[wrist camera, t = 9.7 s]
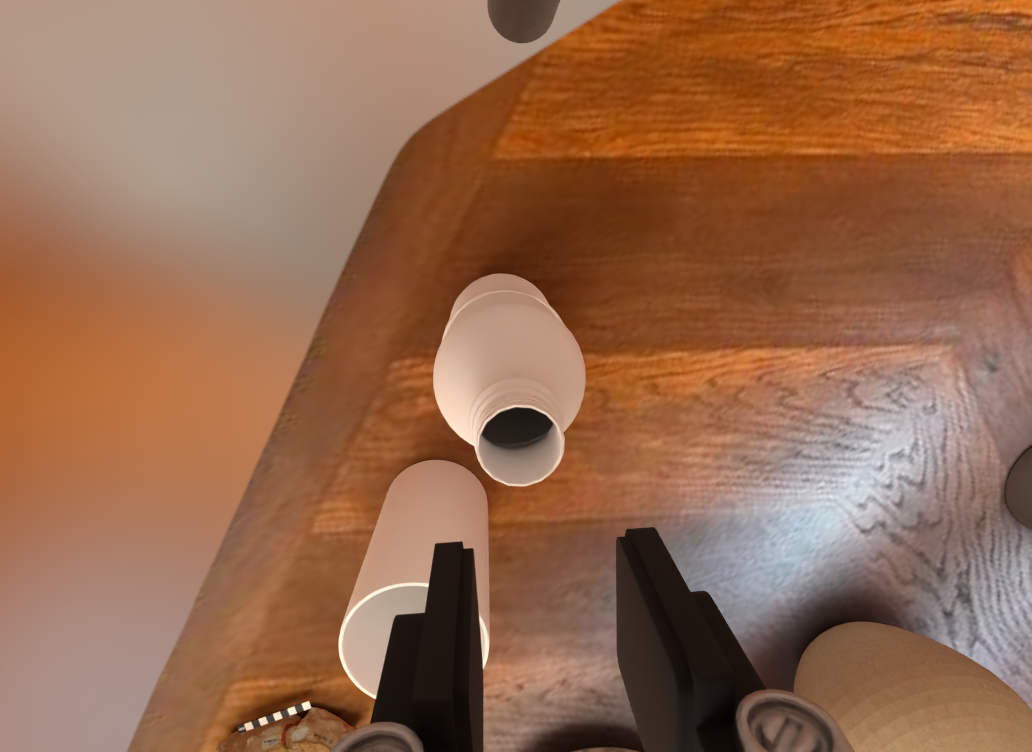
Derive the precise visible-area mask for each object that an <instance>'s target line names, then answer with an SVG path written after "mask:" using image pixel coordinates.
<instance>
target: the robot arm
mask: <svg viewBox="0 0 1032 752" xmlns="http://www.w3.org/2000/svg"><path fill="white" fill-rule="evenodd" d="M616 592H617V657H618V663H619V668H620V671H621V675H622V678H623V681H624V685H625V688H626V691H627V695H628V698H629V701H630V705H631V708H632V711H633V715H634V718H635V721H636V725H637V728H638V731H639V735H640V738H641V741H642V745H643V748H644V751H645V752H855V751H854V749H853V748H852V746H851V744H850V743H849V741H848V739H847V737H846V736H845V734H844V732H843V731H842V729H841V727H840V726H839V725H838V724H837V722H836V721H835V720H834V719H833V717H832V716H831V715H830V714H829V713H828V712H826V711H825V710H824V709H823V708H822V707H820V706H819V705H818V704H816V703H814V702H813V701H811V700H809V699H807V698H805V697H803V696H801V695H798V694H795V693H792V692H788V691H785V690H775V689H767V690H766V688H765V686H764V685H763V683H762V681H761V679H760V678H759V676H758V674H757V673H756V671H755V669H754V668H753V666H752V664H751V663H750V661H749V659H748V658H747V656H746V654H745V653H744V651H743V649H742V648H741V646H740V644H739V643H738V641H737V639H736V638H735V636H734V634H733V633H732V631H731V629H730V628H729V626H728V624H727V623H726V621H725V619H724V618H723V616H722V614H721V612H720V611H719V609H718V607H717V606H716V604H715V602H714V601H713V599H712V597H711V596H710V595H709V594H708V592H705V591H696V592H690V590H689V589H688V587H687V585H686V583H685V581H684V579H683V578H682V576H681V574H680V572H679V570H678V569H677V567H676V565H675V563H674V561H673V559H672V558H671V556H670V554H669V552H668V550H667V548H666V547H665V545H664V543H663V541H662V539H661V538H660V536H659V534H658V532H657V530H656V529H655V528H654V527H650V528H636V529H627V530H626V533H625V537H617V540H616ZM330 752H483V660H482V647H481V634H480V622H479V609H478V596H477V584H476V571H475V558H474V549H473V548H465V549H464V547H463V542H462V541H459V542H446V543H435V546H434V553H433V560H432V566H431V573H430V580H429V587H428V593H427V600H426V607H425V613H413V614H400V615H396V616H395V617H394V620H393V624H392V629H391V633H390V638H389V642H388V646H387V651H386V655H385V660H384V664H383V669H382V673H381V678H380V682H379V687H378V691H377V696H376V700H375V705H374V709H373V713H372V718H371V722H370V724H369V725H365V726H362V727H360V728H358V729H356V730H354V731H353V732H351V733H349V734H347V735H346V736H345V737H344V738H342V739H341V740H340V741H339V742H338V743H337V744H335V745H334V747H333V748H332V749H331V751H330Z"/></svg>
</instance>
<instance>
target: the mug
mask: <svg viewBox="0 0 1032 752" xmlns="http://www.w3.org/2000/svg"><path fill="white" fill-rule="evenodd" d="M1005 494H1006V502H1007V505H1008V508H1009V510H1010V512H1011V513H1012V514H1013V516H1014V517H1015V518H1016V519H1017V520H1018V521H1019V522H1020V523H1022V524H1023V525H1024V526H1026V527H1027V528H1029V529H1030V530H1032V447H1031V448H1030V449H1028V450H1027V451H1026V452H1025V453H1024V454H1023V455H1022V456H1021V457H1020V458H1019V460H1018V461H1017V462H1016V464H1015V465H1014V467H1013V468H1012V470H1011V472H1010V474H1009V477H1008V480H1007V484H1006V492H1005Z"/></svg>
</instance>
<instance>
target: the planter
mask: <svg viewBox="0 0 1032 752" xmlns="http://www.w3.org/2000/svg"><path fill="white" fill-rule="evenodd" d="M572 752H639V751H636V750H631V749H625V748H616V747H597V748H587V749H581V750H576V751H572Z"/></svg>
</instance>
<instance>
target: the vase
mask: <svg viewBox="0 0 1032 752" xmlns="http://www.w3.org/2000/svg"><path fill="white" fill-rule="evenodd" d="M793 693H795V694H798V695H801V696H803V697H805V698H807V699H809V700H811V701H813V702H814V703H816V704H818V705H819V706H820V707H822V708H823V709H824V710H825V711H826V712H828V713H829V714H830V715H831V716H832V717H833V719H834V720H835V721H836V722H837V724H838V725H839V726H840V727H841V729H842V731H843V732H844V734H845V736H846V737H847V739H848V741H849V743H850V744H851V746H852V748H853V749H854V751H855V752H1032V710H1031V708H1030V707H1029V706H1028V705H1027V703H1026V702H1025V701H1024V700H1023V699H1022V698H1021V697H1020V696H1019V695H1018V694H1017V693H1016V692H1015V691H1014V690H1013V689H1011V688H1010V687H1009V686H1008V685H1007V684H1006V683H1004V682H1003V681H1002V680H1001V679H999V678H998V677H997V676H996V675H994V674H993V673H992V672H990V671H989V670H987V669H986V668H984V667H983V666H981V665H980V664H978V663H977V662H975V661H973V660H972V659H970V658H968V657H966V656H965V655H963V654H961V653H959V652H957V651H955V650H953V649H951V648H950V647H948V646H946V645H943V644H941V643H939V642H936V641H934V640H932V639H929V638H927V637H924V636H922V635H919V634H916V633H913V632H910V631H907V630H904V629H901V628H898V627H894V626H890V625H885V624H880V623H875V622H851V623H845V624H841V625H838V626H834V627H832V628H831V629H829V630H827V631H825V632H823V633H822V634H820V635H819V636H818V637H817V638H816V639H814V640H813V641H812V642H811V643H810V644H809V645H808V647H807V648H806V650H805V651H804V653H803V655H802V657H801V659H800V662H799V665H798V667H797V672H796V677H795V683H794V691H793Z"/></svg>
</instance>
